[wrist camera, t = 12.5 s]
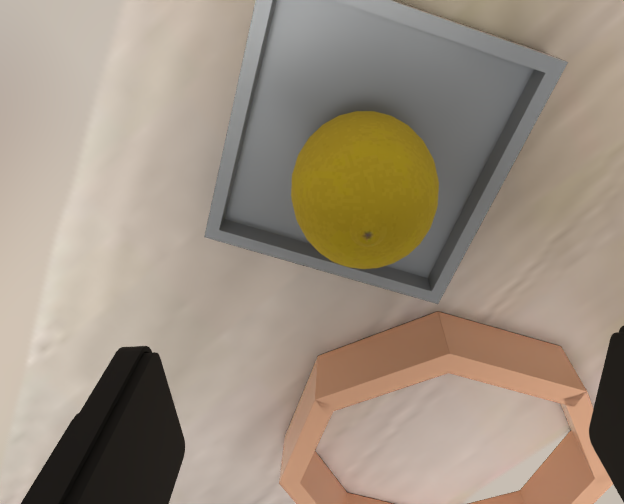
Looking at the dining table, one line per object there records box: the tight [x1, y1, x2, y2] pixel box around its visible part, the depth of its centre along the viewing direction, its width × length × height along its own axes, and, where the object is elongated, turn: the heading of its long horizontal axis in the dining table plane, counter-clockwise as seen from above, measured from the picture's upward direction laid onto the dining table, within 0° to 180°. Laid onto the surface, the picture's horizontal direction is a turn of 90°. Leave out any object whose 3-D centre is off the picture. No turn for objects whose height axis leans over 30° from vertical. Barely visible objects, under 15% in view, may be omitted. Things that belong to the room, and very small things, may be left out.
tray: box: [204, 0, 568, 304], centre depth 22 cm, size 12×12×2 cm
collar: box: [279, 312, 613, 504], centre depth 31 cm, size 18×18×4 cm
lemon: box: [291, 111, 439, 269], centre depth 19 cm, size 6×6×8 cm
